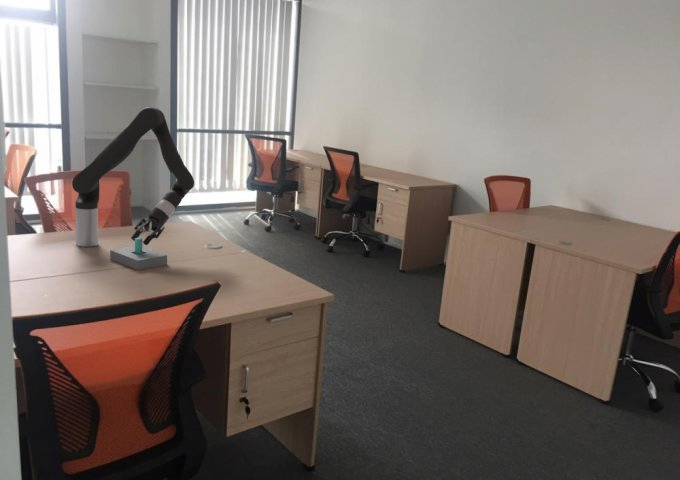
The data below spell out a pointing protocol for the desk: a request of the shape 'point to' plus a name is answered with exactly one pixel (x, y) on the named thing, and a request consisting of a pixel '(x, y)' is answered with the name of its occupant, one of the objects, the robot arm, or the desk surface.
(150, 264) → the hole block
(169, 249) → the desk surface
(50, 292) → the desk surface
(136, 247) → the peg
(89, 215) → the robot arm
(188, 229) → the desk surface
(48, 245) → the desk surface
